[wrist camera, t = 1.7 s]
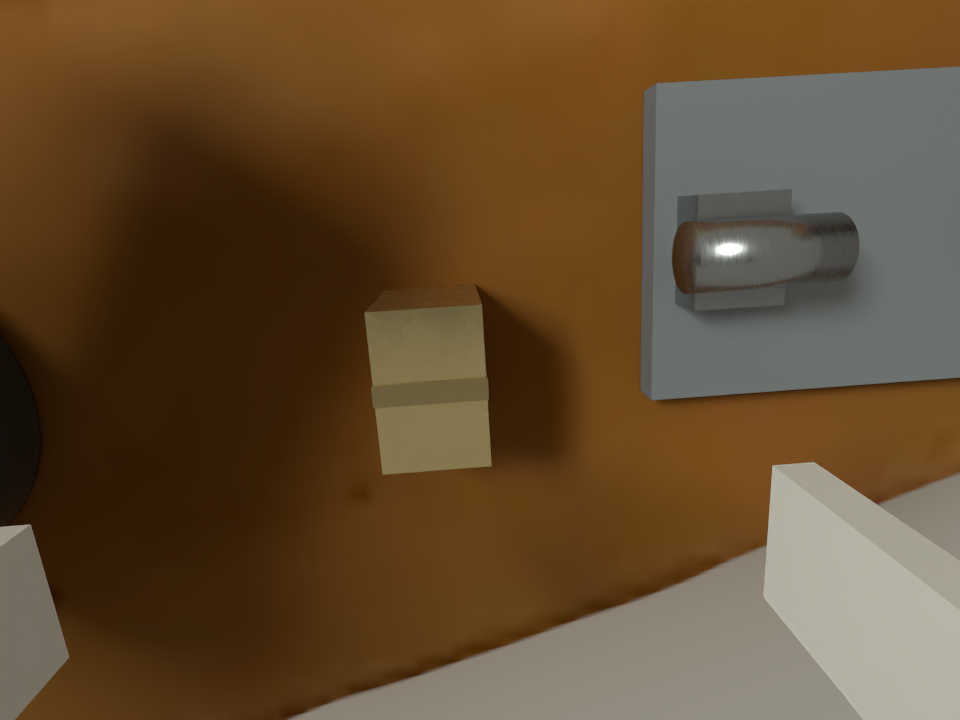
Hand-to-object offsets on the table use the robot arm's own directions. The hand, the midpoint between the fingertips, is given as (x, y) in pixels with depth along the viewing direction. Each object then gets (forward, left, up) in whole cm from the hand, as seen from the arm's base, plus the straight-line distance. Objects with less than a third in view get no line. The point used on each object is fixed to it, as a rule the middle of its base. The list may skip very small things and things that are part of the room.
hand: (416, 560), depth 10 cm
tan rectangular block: (0, 0, -16) cm, 16 cm away
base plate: (+20, +4, -16) cm, 26 cm away
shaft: (+12, +4, -15) cm, 19 cm away
